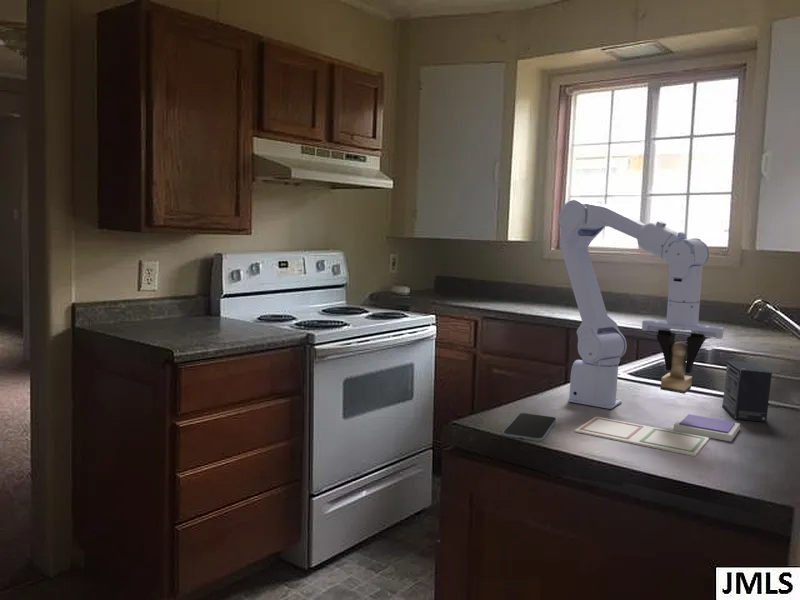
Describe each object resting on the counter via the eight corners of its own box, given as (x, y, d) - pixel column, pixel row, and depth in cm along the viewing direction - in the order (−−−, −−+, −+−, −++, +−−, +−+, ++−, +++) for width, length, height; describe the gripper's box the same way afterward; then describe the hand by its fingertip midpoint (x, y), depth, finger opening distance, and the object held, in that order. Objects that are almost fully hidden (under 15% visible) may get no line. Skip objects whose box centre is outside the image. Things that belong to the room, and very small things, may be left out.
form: (574, 431, 128) (574, 429, 127) (595, 417, 137) (596, 415, 137) (695, 456, 116) (695, 454, 116) (709, 439, 126) (709, 437, 126)
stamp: (660, 389, 133) (665, 341, 132) (667, 384, 138) (672, 338, 137) (684, 393, 131) (689, 345, 130) (690, 388, 136) (696, 341, 135)
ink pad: (673, 430, 130) (674, 423, 130) (684, 419, 138) (685, 412, 138) (731, 441, 125) (731, 433, 125) (739, 429, 133) (740, 422, 132)
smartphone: (500, 433, 124) (520, 412, 137) (500, 438, 124) (519, 416, 138) (542, 439, 121) (557, 417, 135) (541, 444, 121) (557, 422, 135)
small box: (769, 423, 138) (774, 371, 137) (734, 420, 140) (739, 369, 138) (753, 409, 149) (758, 361, 147) (721, 406, 150) (725, 359, 149)
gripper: (639, 299, 134) (634, 368, 135) (720, 306, 125) (714, 379, 127) (649, 297, 139) (644, 363, 141) (727, 303, 131) (721, 373, 133)
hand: (678, 370), depth 134 cm, fingers closed on stamp, 3 cm apart
